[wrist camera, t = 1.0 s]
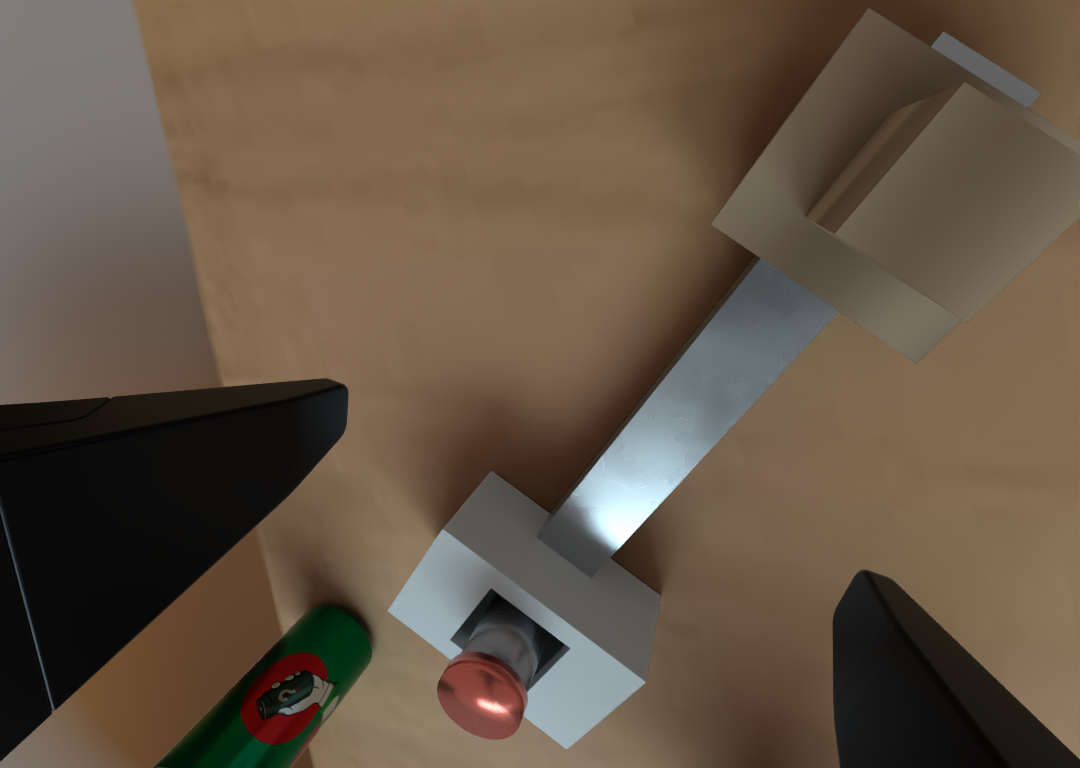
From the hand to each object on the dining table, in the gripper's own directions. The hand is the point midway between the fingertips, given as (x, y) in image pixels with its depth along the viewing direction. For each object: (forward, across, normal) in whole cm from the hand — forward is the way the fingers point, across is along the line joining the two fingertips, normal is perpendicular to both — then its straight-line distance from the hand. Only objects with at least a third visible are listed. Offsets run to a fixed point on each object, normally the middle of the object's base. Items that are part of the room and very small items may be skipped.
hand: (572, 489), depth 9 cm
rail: (+14, -3, +1) cm, 14 cm away
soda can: (+14, +13, +25) cm, 32 cm away
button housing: (+14, +2, +14) cm, 20 cm away
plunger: (+11, +2, +14) cm, 18 cm away
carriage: (+14, -5, -6) cm, 16 cm away
